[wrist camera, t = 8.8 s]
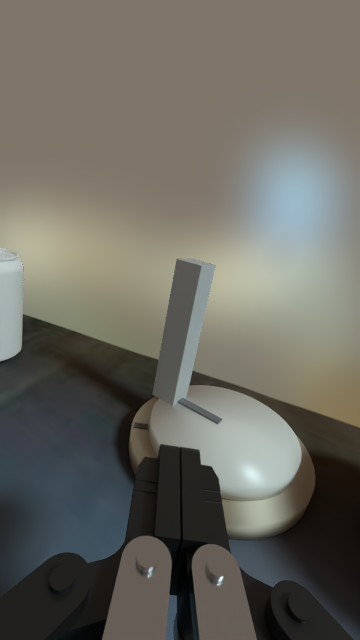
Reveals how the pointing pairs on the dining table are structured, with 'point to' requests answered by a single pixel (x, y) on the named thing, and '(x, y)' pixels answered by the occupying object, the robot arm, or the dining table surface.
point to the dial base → (239, 515)
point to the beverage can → (10, 303)
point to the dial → (215, 405)
